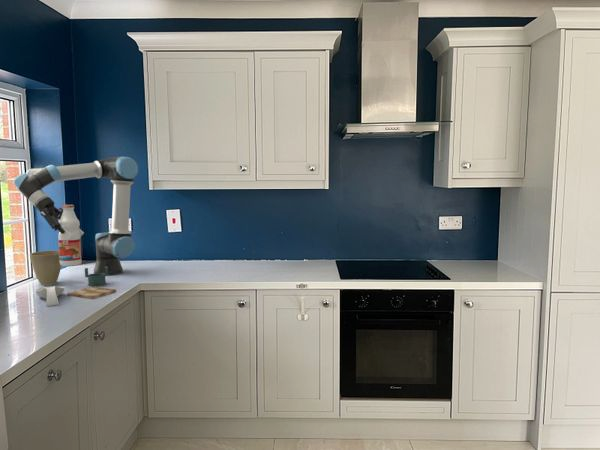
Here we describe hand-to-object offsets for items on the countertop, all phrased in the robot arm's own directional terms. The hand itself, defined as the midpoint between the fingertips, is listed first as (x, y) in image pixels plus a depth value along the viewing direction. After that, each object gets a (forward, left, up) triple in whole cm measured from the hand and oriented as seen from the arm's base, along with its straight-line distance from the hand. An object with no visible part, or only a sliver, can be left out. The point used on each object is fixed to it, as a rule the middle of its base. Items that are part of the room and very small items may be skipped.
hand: (76, 236), depth 225 cm
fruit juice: (+1, -3, -13) cm, 14 cm away
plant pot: (-6, -29, -27) cm, 40 cm away
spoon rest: (+15, 0, -27) cm, 31 cm away
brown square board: (0, +9, -27) cm, 28 cm away
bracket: (-14, -4, -27) cm, 31 cm away
